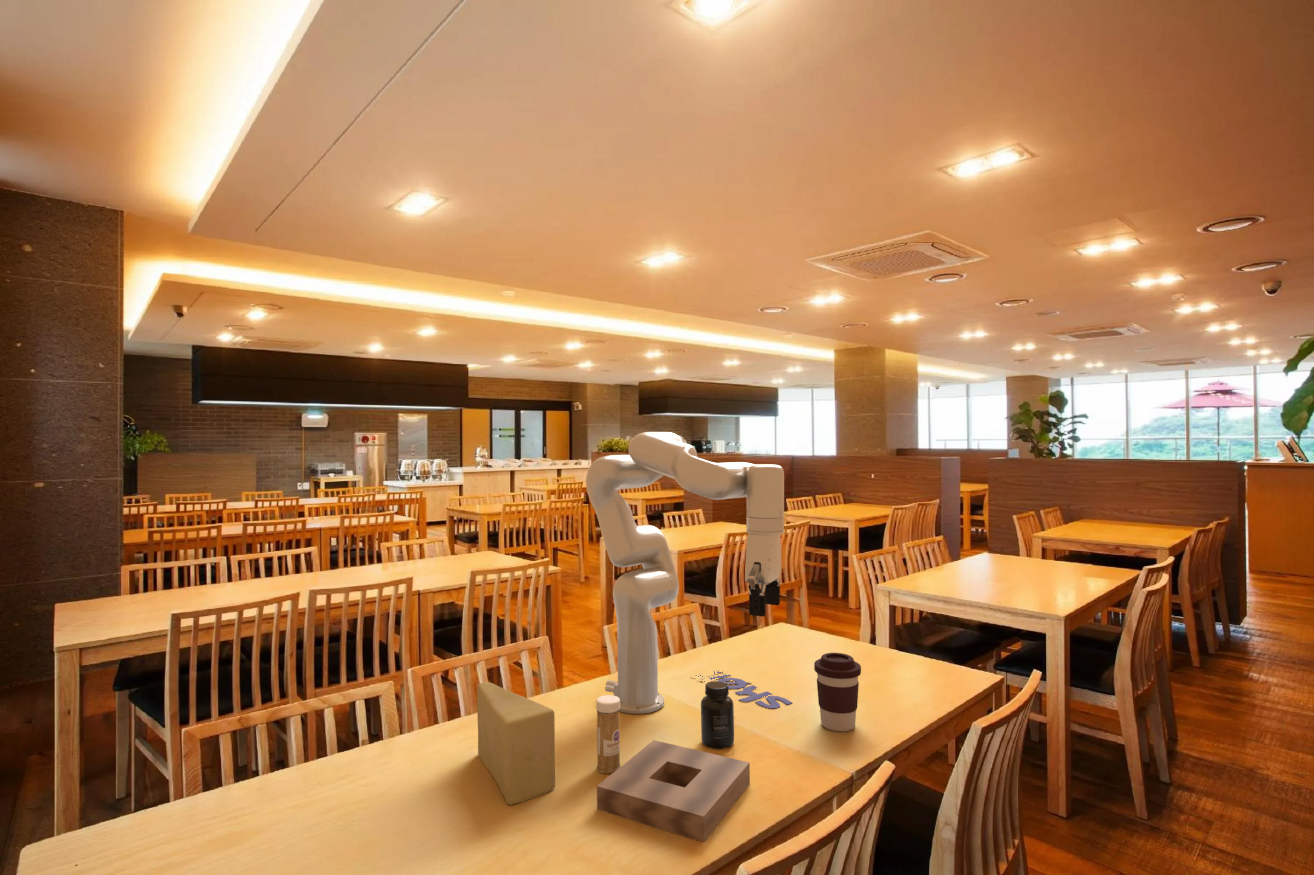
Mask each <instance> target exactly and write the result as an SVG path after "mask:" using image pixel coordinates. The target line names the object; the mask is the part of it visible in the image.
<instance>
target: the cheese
mask: <svg viewBox="0 0 1314 875" xmlns="http://www.w3.org/2000/svg"><path fill="white" fill-rule="evenodd" d="M476 688H477V693H476V694H477V697H476V698H477V699H476V703H477V704H476V706H477V708H476V710H477V712H476V713H477V714H476V715H477V745H478V746H477V754H478V757H479V758H480V760H481V761H482V763H483V764H484V765H485V767H486V769H487V770H488V772H489V773H490V774H491V776H492V777H493V779H494V780H495V782H496V784H497V785H498V787H499V789H500V791H501V793H502V795H503V797H504V800H505V801H506V803H507V805H510V806H512V805H517V804H520V803H522V802H525V801H527V800H531V799H533V798H537V797H538V796H542V795H544V794H546V793H549V792H550V791H553V790H554V789H555V786H556V752H555V751H556V747H555V746H556V740H555V739H556V734H555V733H556V728H555V727H556V726H555V723H556V722H555V719H556V718H555V711H554V709H552V708H550V707H548V706H545V705H543V704H541V703H539V702H536V701H534V700H532V699H530V698H527V697H525V696H522V695H520V694H517V693H515V692H513V691H510V690H509V689H506V688H503V687H501V686H498V685H497V684H494V683H492V682H489V681H485V682H480V683H478V684H477V687H476Z"/></svg>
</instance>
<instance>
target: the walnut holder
mask: <svg viewBox="0 0 1314 875" xmlns="http://www.w3.org/2000/svg"><path fill="white" fill-rule="evenodd" d="M750 764H751V763H750V762H748V761H744V760H742V759H741V760H740V759H736V758H732V757H729V756H724V755H718V754H715V753H710V752H706V751H702V750H698V749H694V748H689V747H684V746H681V745H677V744H672V743H667V742H664V741H658V740H655V739H653V740H652V741H651V742H649V743H648V744H647V745H645V746H644V747H643V748H641V750H639V751H638V752H637V753H636V754H634V755H633V756H632V757H631V758H630V759H628V760H627V761H626V762H625V763H624V764H622V765H620V768H619V769H617V770H616V771H615V772H614V773H610V774H609V776H607V777H606V778H604V780H603V781H601V782H600V783H599V784H597V786H596V810H597V811H601V812H604V813H607V814H611V815H614V816H617V817H620V818H622V819H627V820H630V821H633V822H637V823H640V824H643V825H647V826H650V827H653V828H656V829H659V830H663V831H667V832H668V833H669V832H670V833H673V834H676V835H680V836H683V837H686V838H689V839H692V840H695V839H696V841H698V840H699V842H702V843H705V842H706V840H707V839H708V838H709V837H710V835H711V834H712V833H713V831H714V830H715V829H716V828H717V826H718V825H719V824H720V823H721V821H722V820H723V818H725V816H726V815H727V814H728V812H729V811H730V810H731V808H733V806H735V804H736V803H737V801H738V800H739V799H740V797H741V796H742V795H743V794H744V792H745V791H746V790H747V789H748V788H749V786H750V785H751V784H750V783H751V782H750V780H751V777H750V776H751V775H750V774H751V773H750V772H751V770H750V767H751V766H750Z"/></svg>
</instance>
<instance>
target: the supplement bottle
mask: <svg viewBox="0 0 1314 875" xmlns="http://www.w3.org/2000/svg"><path fill="white" fill-rule="evenodd" d="M729 692H730V691H729V689H728V684H727V683H724V682H720V681H718V680H715V681H711V682H707V683H705V689H704V694H705V696H703V698H702V699H701V701H700V726H701V727H700V728H701V730H700V731H701V737H700V738H701V742H702V744H703V745H704V746H705V747H706V748H709V749H712V750H725V749H728V748H730V747H732V746H733V744H734V743H735V716H734V714H735V710H734V708H735V706H734V700H733V699H732V697H730V696H729V695H730V693H729Z"/></svg>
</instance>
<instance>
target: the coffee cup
mask: <svg viewBox="0 0 1314 875" xmlns="http://www.w3.org/2000/svg"><path fill="white" fill-rule="evenodd" d="M813 664H814V666H813V670H814V672H815V673H816V674H817V678H816V687H817V688H816V690H817V699H818V700H817V701H818V707H819V715H820V716H819V717H820V723H821V725H822V726H823V727H824V728H825V729H827V730H830V731H834V732H840V733H843V732H844V733H845V732H851V731H852V730H853V729H855V726H856V720H857V719H856V717H857V716H856V715H857V709H858V701H859V682H860V681H859V677H860V676H861V674H862V665H861V664H860V663H859V662H857V661H855V659H854V658H853V656H851V655H849V654H846V653H841V652H828V653H827V652H826V653H823V654H822V655H821V657H820V658H819V659H816V660H815V661H814V663H813Z"/></svg>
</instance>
